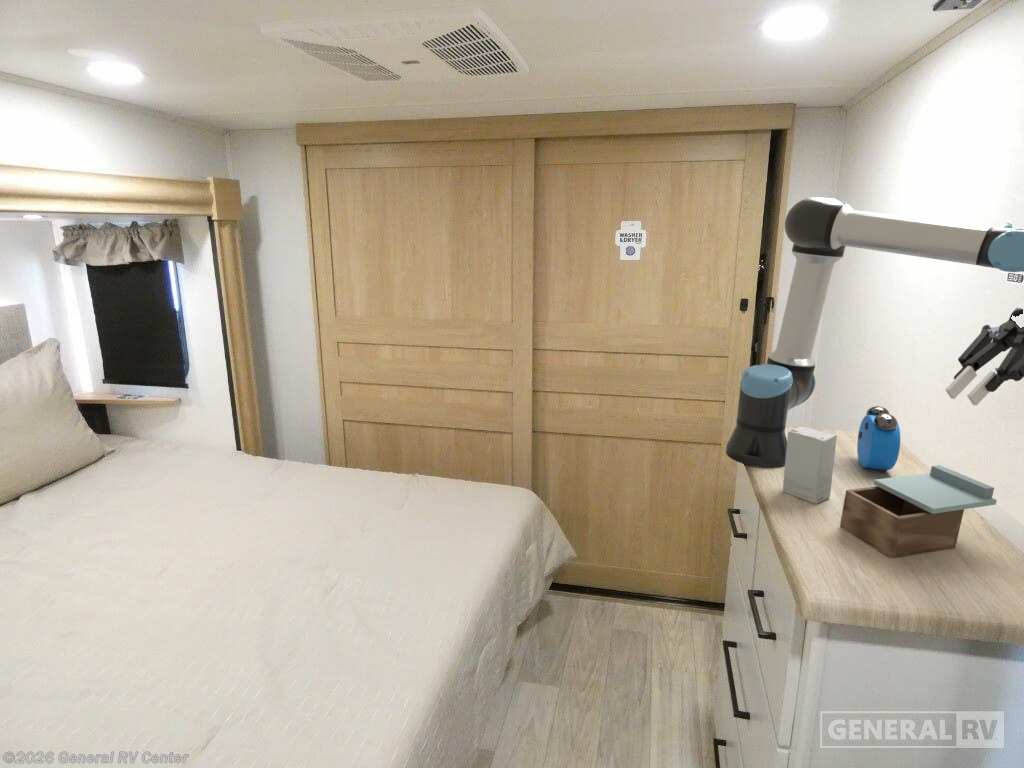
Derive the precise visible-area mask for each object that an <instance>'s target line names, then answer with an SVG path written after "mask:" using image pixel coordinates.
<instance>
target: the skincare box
mask: <svg viewBox="0 0 1024 768" xmlns="http://www.w3.org/2000/svg"><path fill="white" fill-rule="evenodd" d="M837 438H838V437H837V434H833V433H828V432H825V431H821V430H817V429H814V428H809V427H806V426H799V427H796V428H793V429H791V430H789V431H787V437H786V440H787V449H786V460H785V465H784V471H783V472H784V473H783V484H782V492H783V493H786V494H789V495H792V496H794V497H796V498H800V499H802V500H805V501H807V502H809V503H813V504H815V505H816V504H819V503H821V502H824V501H826V500H828V499H830V497H831V491H832V483H833V482H832V481H833V474H834V473H833V472H834V464H835V457H836V456H835V454H836V445H837Z"/></svg>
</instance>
